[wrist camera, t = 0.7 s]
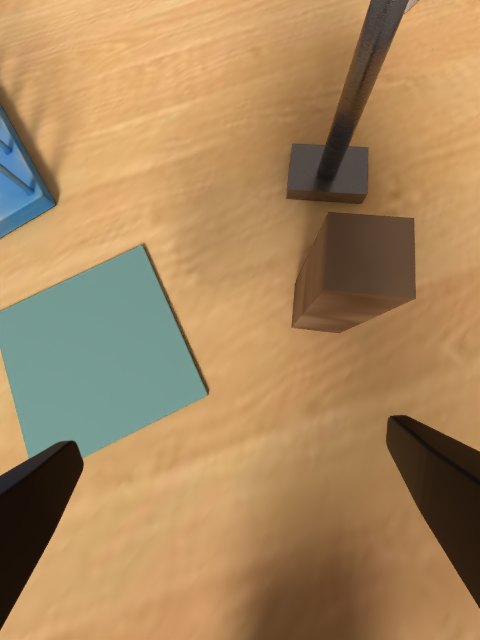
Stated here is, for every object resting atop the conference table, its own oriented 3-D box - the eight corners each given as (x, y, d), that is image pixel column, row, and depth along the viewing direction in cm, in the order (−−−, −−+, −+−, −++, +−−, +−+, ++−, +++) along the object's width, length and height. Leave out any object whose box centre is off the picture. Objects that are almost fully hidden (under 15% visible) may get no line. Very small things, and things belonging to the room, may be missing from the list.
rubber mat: (208, 394, 20) (207, 395, 20) (39, 479, 20) (34, 481, 19) (143, 246, 23) (141, 244, 23) (-4, 316, 23) (-9, 315, 22)
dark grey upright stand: (362, 158, 24) (644, -396, 7) (361, 203, 23) (688, -310, 6) (290, 154, 25) (377, -366, 7) (286, 198, 24) (374, -282, 6)
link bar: (341, 288, 21) (414, 218, 12) (339, 332, 21) (415, 298, 11) (295, 283, 22) (328, 212, 12) (291, 327, 21) (324, 289, 11)
